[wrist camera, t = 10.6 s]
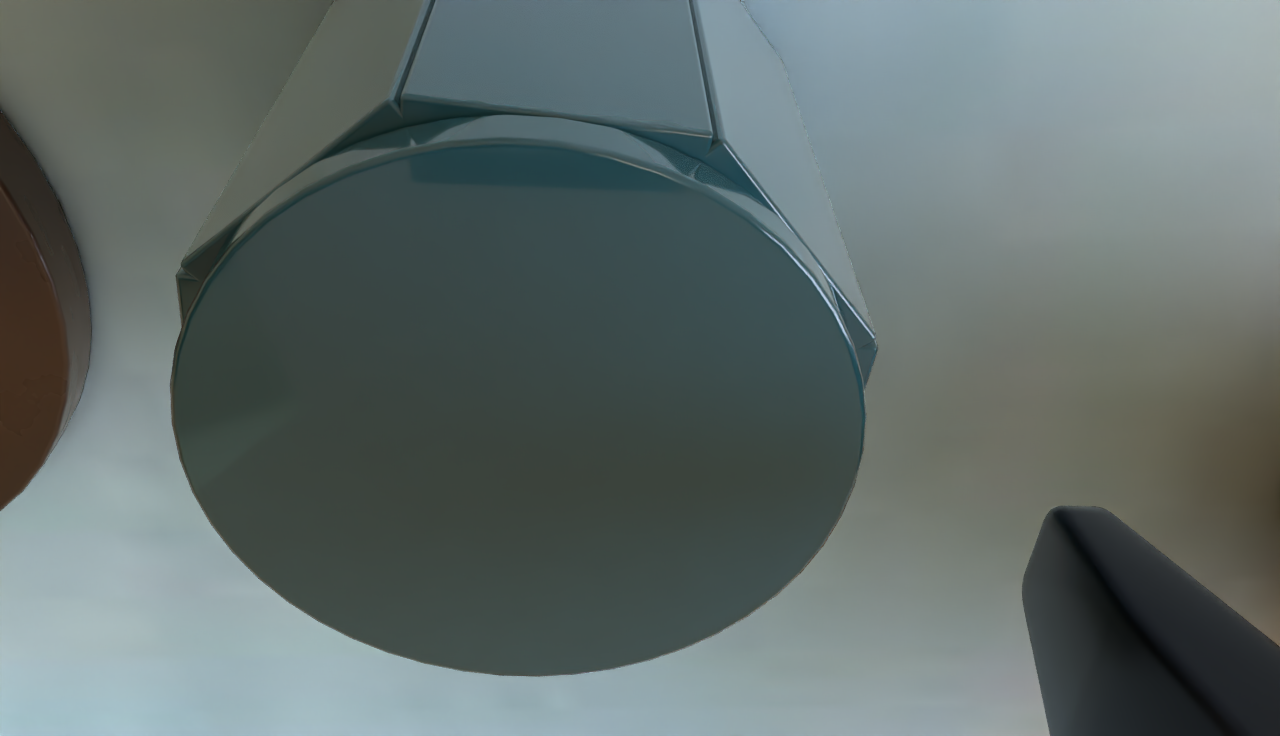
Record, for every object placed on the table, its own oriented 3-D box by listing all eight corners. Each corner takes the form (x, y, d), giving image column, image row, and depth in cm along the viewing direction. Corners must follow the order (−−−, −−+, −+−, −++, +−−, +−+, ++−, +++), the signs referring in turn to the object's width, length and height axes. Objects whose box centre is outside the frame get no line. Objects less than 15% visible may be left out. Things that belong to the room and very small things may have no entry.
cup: (853, 160, 16) (988, 499, 10) (527, 371, 18) (492, 751, 12) (587, -218, 13) (574, -31, 7) (235, 86, 15) (15, 412, 9)
